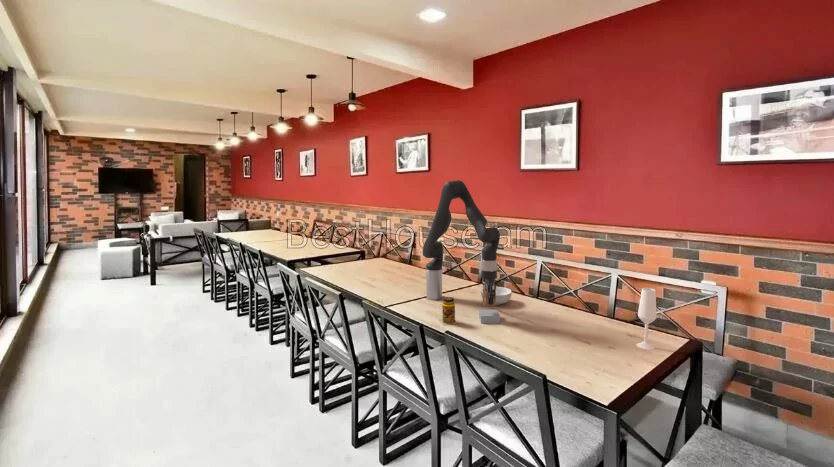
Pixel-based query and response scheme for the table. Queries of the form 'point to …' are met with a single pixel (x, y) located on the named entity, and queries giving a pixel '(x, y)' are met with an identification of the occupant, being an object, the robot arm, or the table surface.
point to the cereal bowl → (501, 295)
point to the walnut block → (486, 298)
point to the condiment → (448, 311)
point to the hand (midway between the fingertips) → (489, 302)
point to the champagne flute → (647, 313)
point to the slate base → (489, 316)
